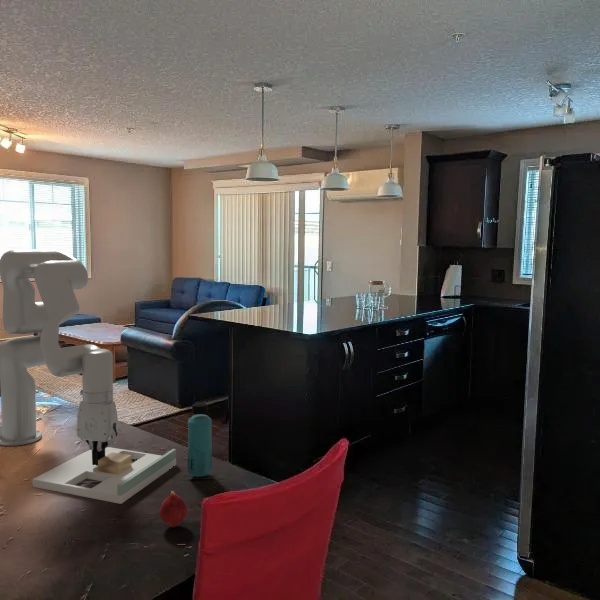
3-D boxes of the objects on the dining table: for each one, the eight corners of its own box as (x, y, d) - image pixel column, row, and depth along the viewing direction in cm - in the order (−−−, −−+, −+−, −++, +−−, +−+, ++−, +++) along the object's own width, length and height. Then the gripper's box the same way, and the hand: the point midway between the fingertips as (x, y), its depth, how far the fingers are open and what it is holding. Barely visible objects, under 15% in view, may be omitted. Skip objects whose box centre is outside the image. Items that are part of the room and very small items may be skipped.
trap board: (32, 486, 138) (32, 469, 137) (98, 452, 161) (97, 437, 161) (121, 503, 130) (121, 485, 129) (176, 464, 154) (176, 449, 153)
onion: (191, 523, 122) (192, 488, 121) (177, 535, 116) (178, 499, 116) (169, 518, 124) (169, 484, 123) (154, 530, 118) (154, 495, 117)
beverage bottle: (216, 475, 147) (217, 402, 145) (202, 484, 141) (203, 408, 139) (196, 470, 150) (197, 398, 148) (181, 479, 144) (182, 405, 142)
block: (98, 471, 143) (97, 460, 143) (112, 462, 149) (112, 452, 148) (117, 474, 141) (117, 463, 141) (131, 465, 147) (131, 455, 147)
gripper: (64, 396, 143) (65, 464, 145) (113, 403, 139) (113, 473, 140) (84, 389, 150) (84, 454, 152) (130, 395, 146) (131, 462, 148)
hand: (98, 463), depth 146 cm, fingers closed
